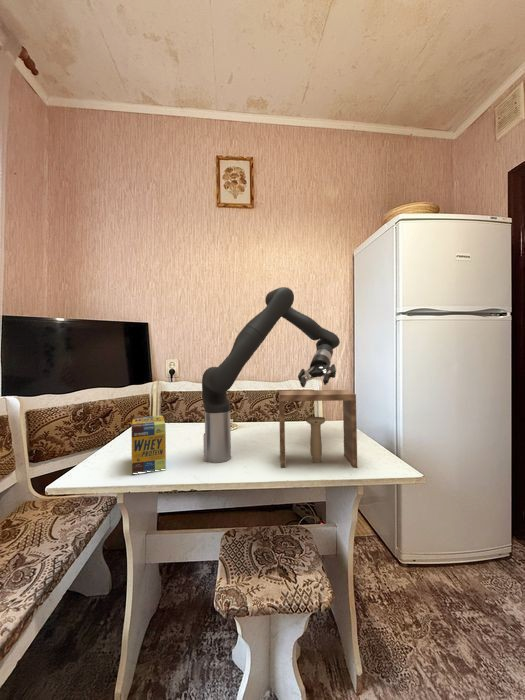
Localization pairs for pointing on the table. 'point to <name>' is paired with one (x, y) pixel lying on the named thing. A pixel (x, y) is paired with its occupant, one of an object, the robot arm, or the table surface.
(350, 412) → the shelf
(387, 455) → the table surface
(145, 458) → the protein box
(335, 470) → the table surface
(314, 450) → the handle
